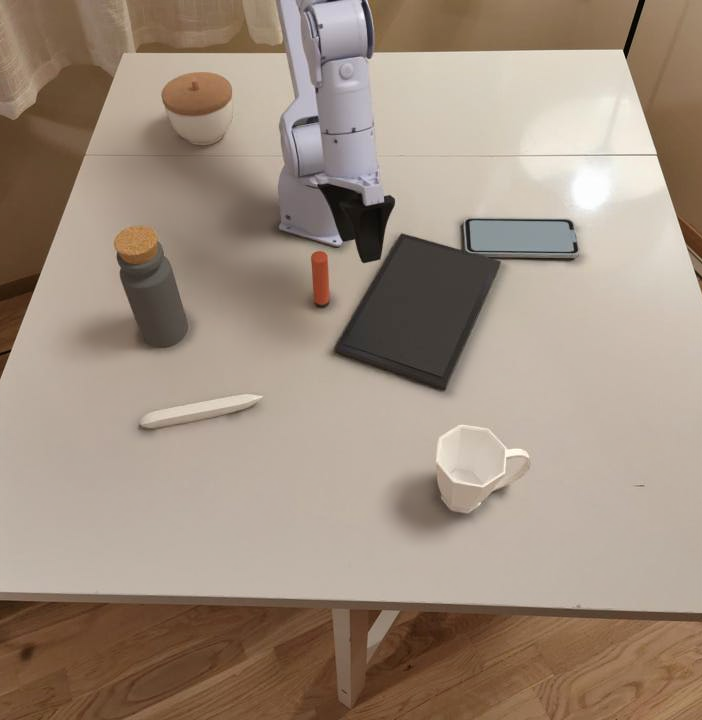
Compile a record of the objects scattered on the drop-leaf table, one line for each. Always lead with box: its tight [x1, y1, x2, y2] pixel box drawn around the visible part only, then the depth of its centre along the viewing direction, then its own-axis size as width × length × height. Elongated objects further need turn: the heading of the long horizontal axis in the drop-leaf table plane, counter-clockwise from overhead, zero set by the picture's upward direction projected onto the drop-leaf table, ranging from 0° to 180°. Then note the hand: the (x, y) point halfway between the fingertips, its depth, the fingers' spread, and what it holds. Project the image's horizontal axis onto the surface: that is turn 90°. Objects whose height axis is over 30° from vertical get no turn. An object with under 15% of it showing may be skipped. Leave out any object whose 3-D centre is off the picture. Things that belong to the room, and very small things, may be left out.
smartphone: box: [462, 217, 581, 259], centre depth 96 cm, size 7×1×15 cm
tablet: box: [334, 232, 502, 392], centre depth 89 cm, size 14×22×1 cm, turn 156°
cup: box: [434, 423, 531, 514], centre depth 70 cm, size 7×10×8 cm
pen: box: [139, 393, 264, 429], centre depth 79 cm, size 2×14×2 cm, turn 102°
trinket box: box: [160, 71, 234, 146], centre depth 110 cm, size 11×11×9 cm
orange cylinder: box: [310, 250, 331, 309], centre depth 87 cm, size 2×2×8 cm
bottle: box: [113, 225, 189, 349], centre depth 82 cm, size 6×6×15 cm
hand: (360, 249), depth 81 cm, fingers open, 7 cm apart
